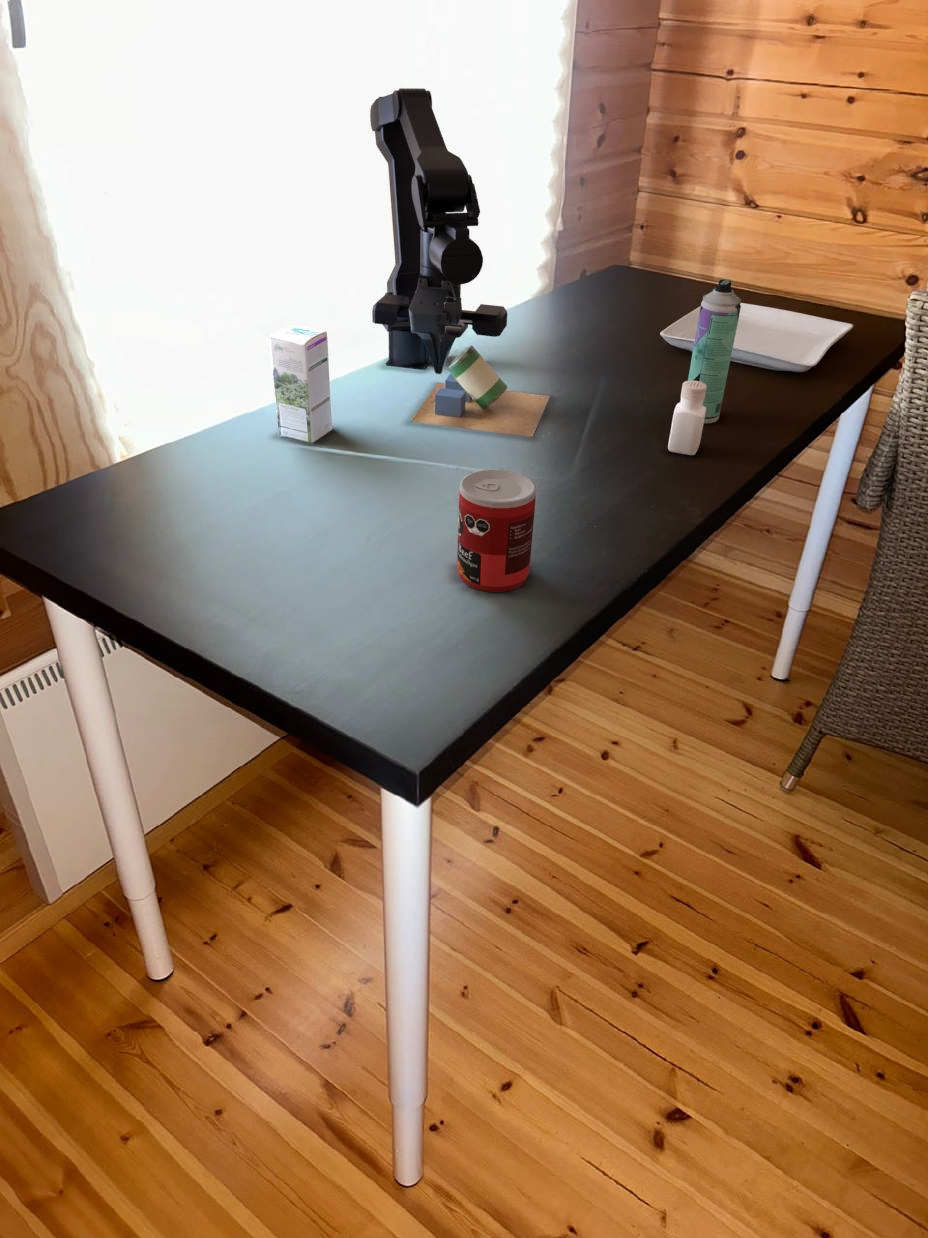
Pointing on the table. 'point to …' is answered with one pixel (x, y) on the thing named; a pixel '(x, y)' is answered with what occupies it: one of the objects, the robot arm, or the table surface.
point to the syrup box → (301, 382)
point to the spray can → (715, 345)
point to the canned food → (495, 529)
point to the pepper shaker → (688, 419)
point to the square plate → (769, 337)
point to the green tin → (477, 377)
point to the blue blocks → (451, 399)
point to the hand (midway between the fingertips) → (438, 372)
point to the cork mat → (490, 414)
